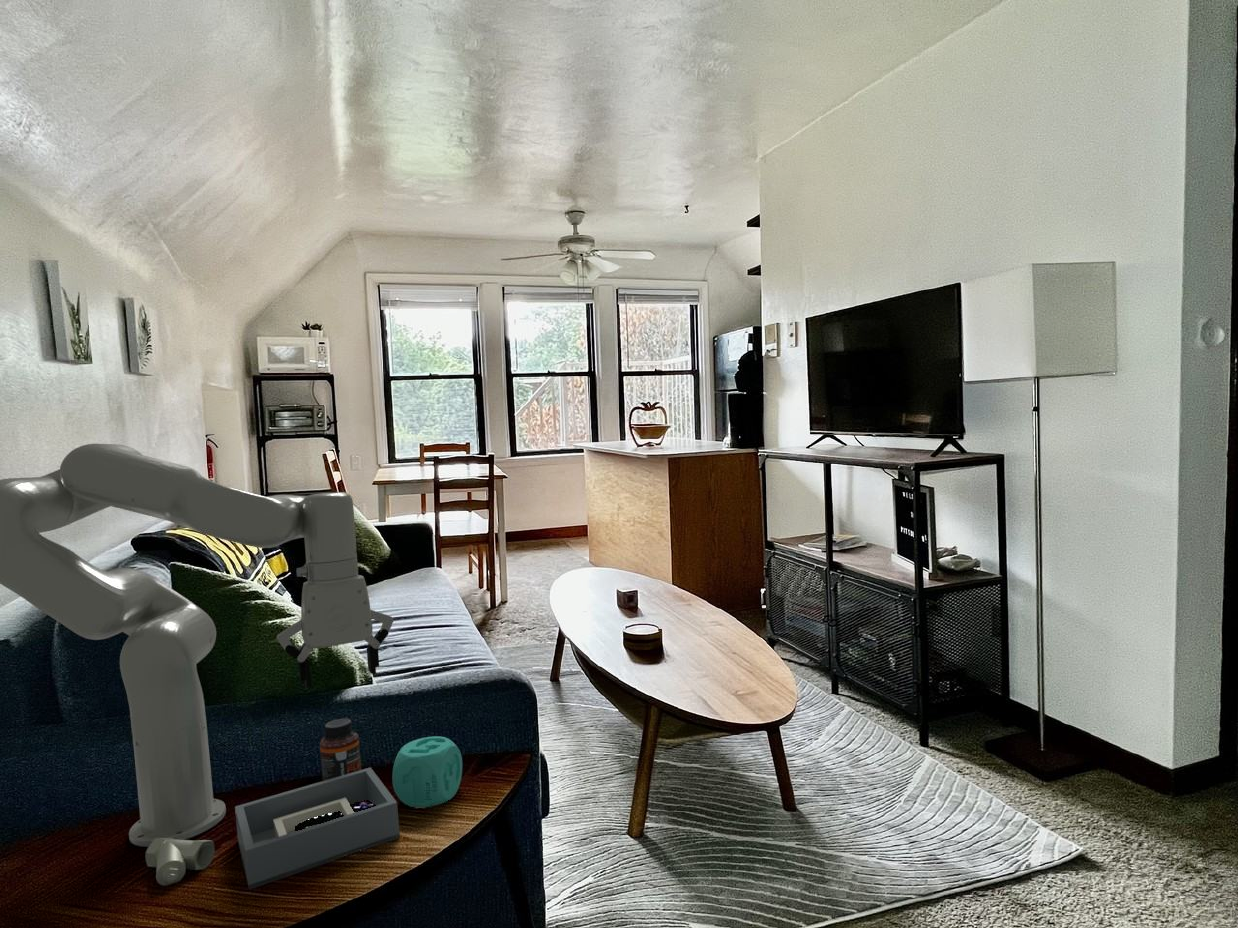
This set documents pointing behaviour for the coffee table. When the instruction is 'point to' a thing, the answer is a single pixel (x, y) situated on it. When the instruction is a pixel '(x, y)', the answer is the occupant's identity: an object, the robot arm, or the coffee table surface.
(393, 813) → the box
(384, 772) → the coffee table surface
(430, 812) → the coffee table surface
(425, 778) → the decorative dice
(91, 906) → the coffee table surface
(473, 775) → the coffee table surface
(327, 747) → the supplement bottle
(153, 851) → the pipe fitting
